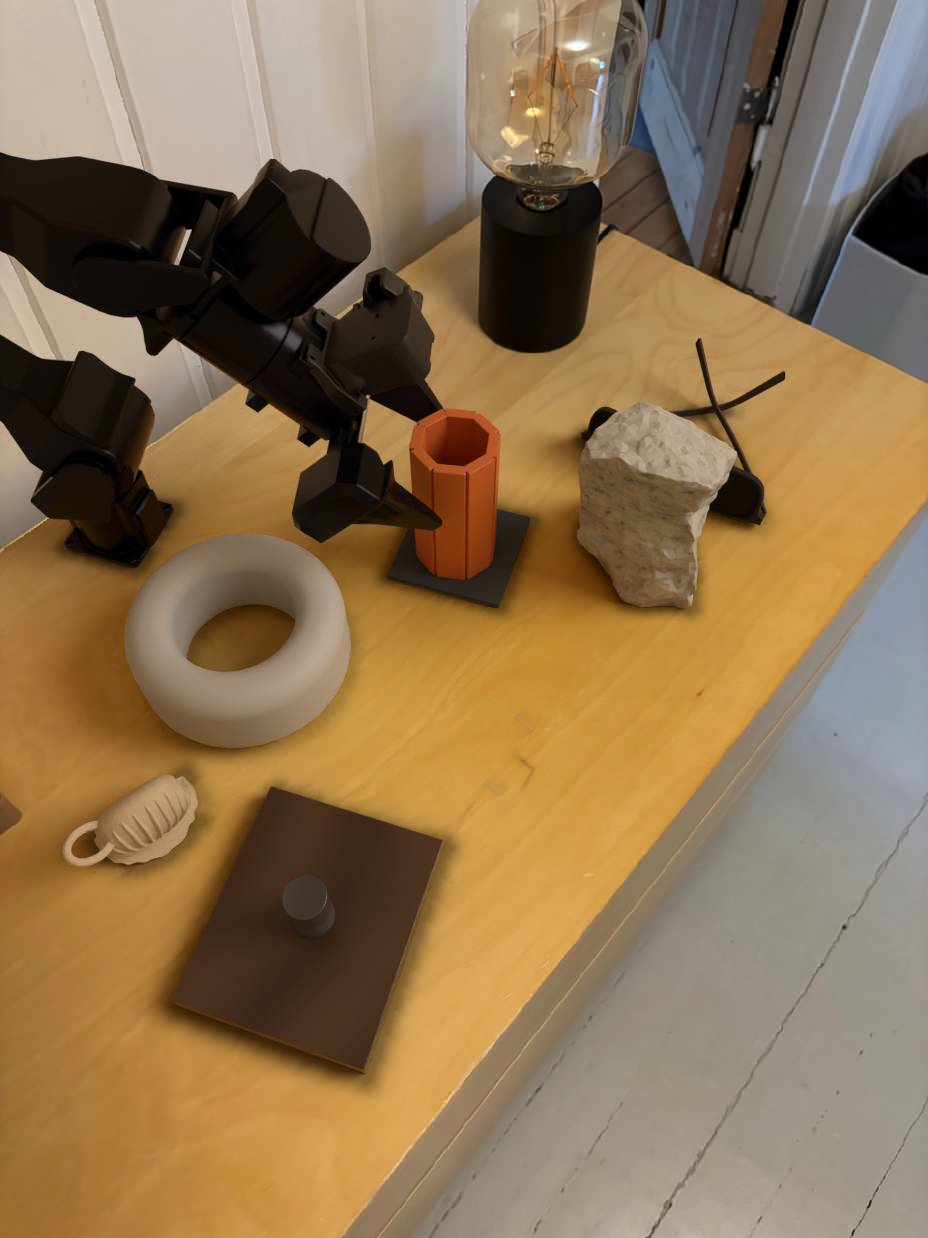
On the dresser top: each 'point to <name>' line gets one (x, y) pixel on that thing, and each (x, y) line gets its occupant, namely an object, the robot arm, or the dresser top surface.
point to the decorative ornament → (140, 823)
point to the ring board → (313, 970)
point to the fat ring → (255, 696)
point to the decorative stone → (649, 501)
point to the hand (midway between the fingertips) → (443, 475)
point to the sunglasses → (741, 487)
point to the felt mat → (477, 589)
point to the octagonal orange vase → (456, 490)
